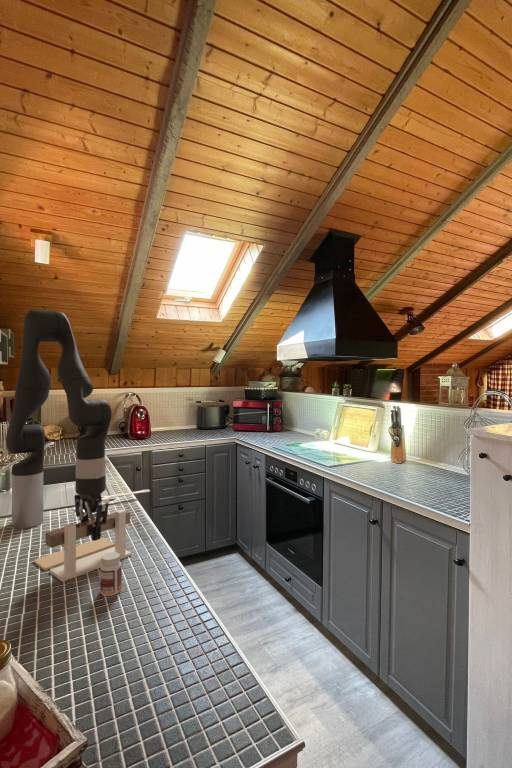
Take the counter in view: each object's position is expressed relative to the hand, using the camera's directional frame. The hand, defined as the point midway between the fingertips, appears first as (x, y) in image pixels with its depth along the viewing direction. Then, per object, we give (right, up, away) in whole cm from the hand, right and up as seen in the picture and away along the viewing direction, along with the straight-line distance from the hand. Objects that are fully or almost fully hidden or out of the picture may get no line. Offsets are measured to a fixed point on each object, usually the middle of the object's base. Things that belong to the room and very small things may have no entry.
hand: (90, 536), depth 107 cm
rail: (0, +1, 0) cm, 1 cm away
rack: (+1, -7, 0) cm, 7 cm away
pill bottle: (+10, -8, -14) cm, 19 cm away
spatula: (-11, -6, +50) cm, 52 cm away
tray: (-6, -7, +5) cm, 11 cm away
